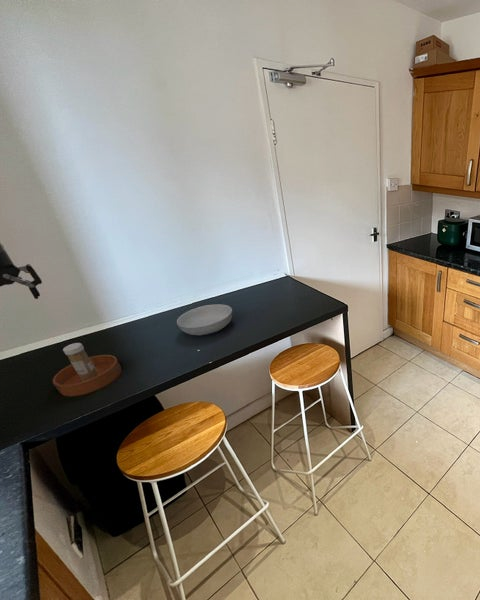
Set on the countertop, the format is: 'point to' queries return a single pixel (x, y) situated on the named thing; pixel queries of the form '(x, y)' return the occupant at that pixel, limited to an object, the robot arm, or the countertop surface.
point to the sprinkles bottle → (80, 361)
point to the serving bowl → (205, 319)
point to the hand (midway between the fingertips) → (16, 302)
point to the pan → (74, 386)
